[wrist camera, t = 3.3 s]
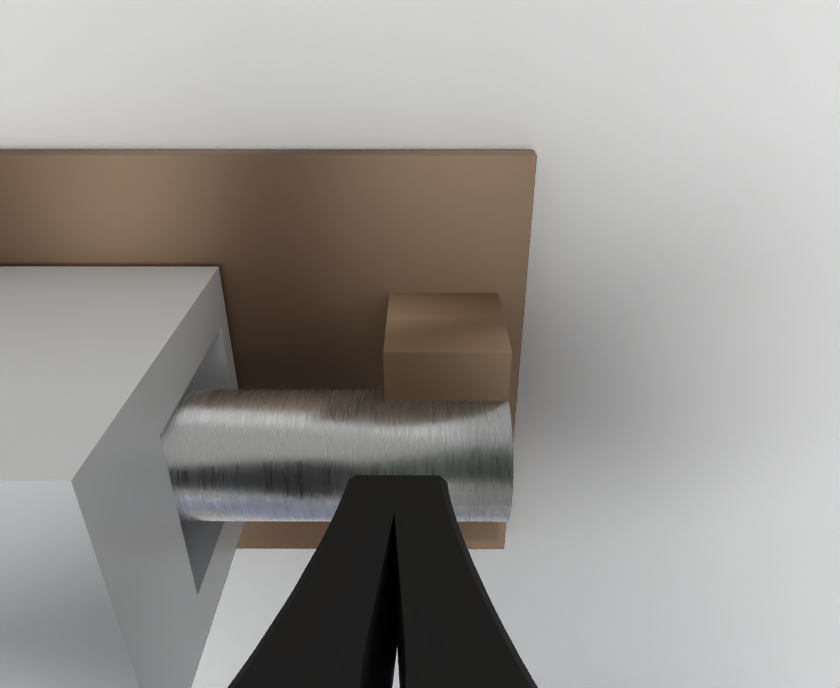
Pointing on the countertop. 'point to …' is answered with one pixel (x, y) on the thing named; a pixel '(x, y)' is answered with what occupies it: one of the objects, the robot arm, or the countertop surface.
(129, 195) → the pipe stand
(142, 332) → the sleeve
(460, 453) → the pipe
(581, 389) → the countertop surface
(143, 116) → the countertop surface
